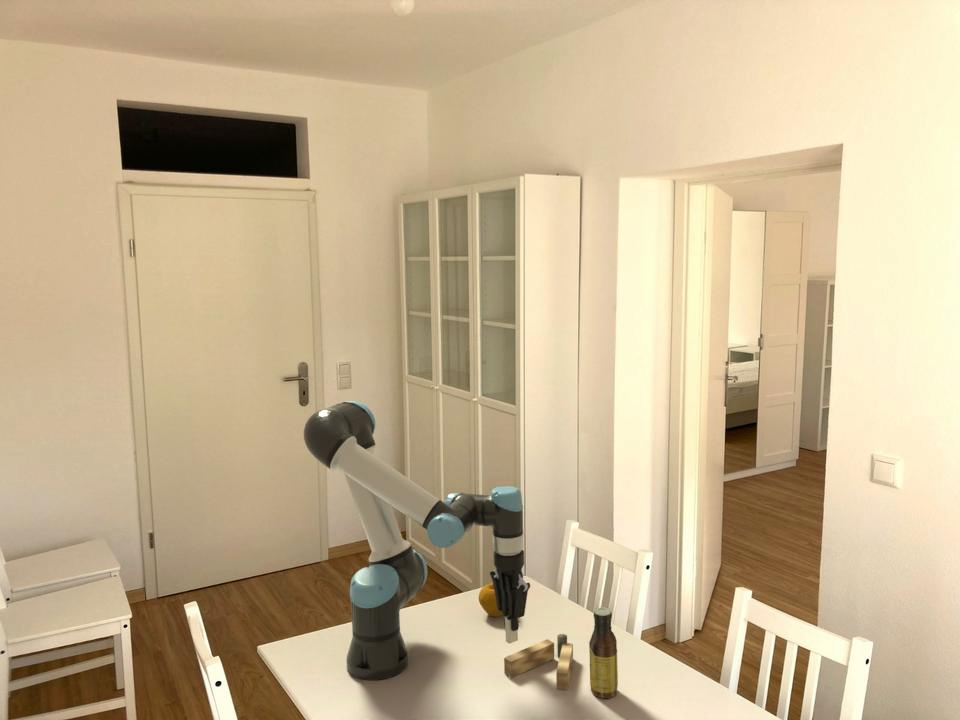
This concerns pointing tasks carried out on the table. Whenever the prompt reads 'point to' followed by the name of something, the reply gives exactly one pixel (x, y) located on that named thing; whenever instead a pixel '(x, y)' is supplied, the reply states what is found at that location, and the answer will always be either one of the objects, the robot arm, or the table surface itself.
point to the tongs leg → (528, 658)
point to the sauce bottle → (603, 655)
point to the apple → (489, 600)
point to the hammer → (564, 662)
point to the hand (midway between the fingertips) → (511, 640)
